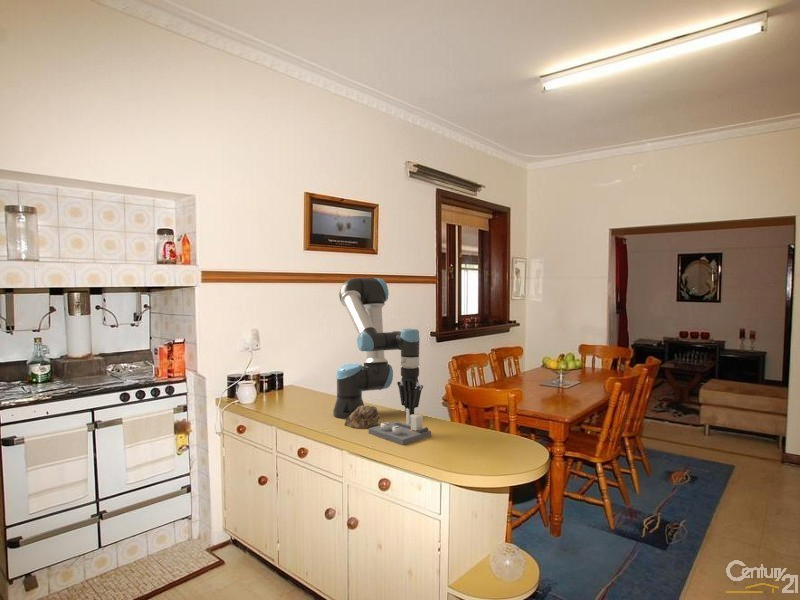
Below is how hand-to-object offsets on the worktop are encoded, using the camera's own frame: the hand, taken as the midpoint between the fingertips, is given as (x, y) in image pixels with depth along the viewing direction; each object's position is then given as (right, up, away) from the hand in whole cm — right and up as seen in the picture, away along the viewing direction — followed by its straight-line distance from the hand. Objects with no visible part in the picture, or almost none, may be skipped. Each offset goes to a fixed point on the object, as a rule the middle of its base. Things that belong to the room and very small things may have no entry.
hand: (409, 423), depth 196 cm
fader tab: (+3, -2, -3) cm, 4 cm away
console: (-4, -4, -3) cm, 6 cm away
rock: (-21, -4, +10) cm, 24 cm away
